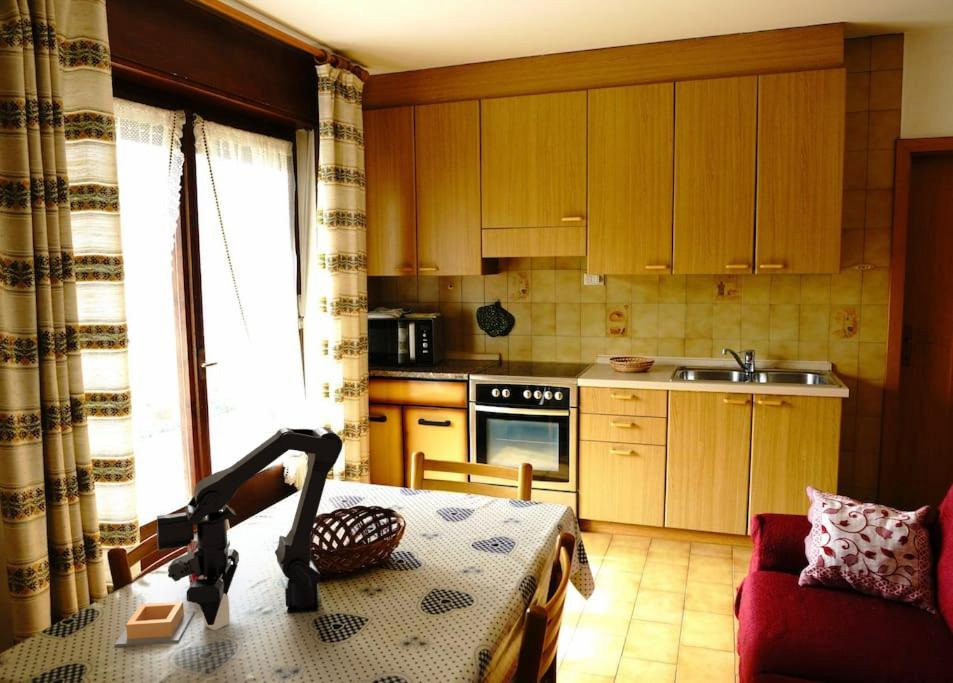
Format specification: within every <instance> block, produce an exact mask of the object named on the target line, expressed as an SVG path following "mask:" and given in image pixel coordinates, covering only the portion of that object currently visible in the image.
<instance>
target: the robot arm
mask: <svg viewBox="0 0 953 683" xmlns="http://www.w3.org/2000/svg"><path fill="white" fill-rule="evenodd" d="M343 444H344V443H343V440H342V438H341V437H340V436H339V435H338V434H337V433H335V432H334V431H333V430H332V429H331V428H329V427H326V426H319V427H317V428H315V429H311V428H289V427H282V428H279V429H278V430H277V431H276V433H274V434H273V435H272V436H271V437H269V438H268V439H267V440H265V441H264V442H262V443H261V444H260V445H258V446H257V447H256V448H253V450H251V451H250V452H249V453H247V454H246V455H244V457H242V458H241V459H239V460H238V461H236V462H235V463H234V464H232V465H231V466H230V467H228V468H225V469H222V470H220V471H216V472H214V473H212V474H210V475H208V476H206V477H204V478H202V479H201V480H199V481H198V482H197V483H196V485H194V491H193V497H192V498H191V499H190V500H189V502H188V503H187V505H186V506H185V507H184V512H179V513H178V512H177V513H173V514H160V515H157V516H156V517H157V518H156V524H157V526H156V539H157V540H156V541H157V550H158V552H162V551H166V550H167V551H168V550H172V549H179V548H184V547H187V546H189V544H191V540H194V534H195V530H194V529H195V528H194V526H196V533H197V542H198V548H197V549H196V550H195V552H191V553H189V554H186V553H185V554H184V555H181V556H179V557H176V558H174V559H173V560H172V561H171V563H170V564H169V565H168V567H167V572H168V574H167V577H168V578H169V579H171V580H173V581H174V582H179V581H180V580H181V579H184V578H185V577H189V575H191V574H193V573H194V577H198V576H201V575H203V577H207V578H206V579H196V580H195V581H194V582H193V583H192V584H191V585H190V584H189V587H188V589H187V590H186V601H187V602H188V603H191V604H192V603H193V604H197V605H199V607H200V610H201V612H202V614H204V616H203V618H204V617H205V619H206V622H207V624H208V625H213V624H214V622H215V619H216V616H217V613H218V610H219V607H220V604H221V601H222V597H223V594H224V593H225V594H226V595H228V593H229V591H230V588H231V585H232V582H233V579H234V576H235V573H236V571H237V568H238V564H239V562H240V556H239V554H240V553H239V552H238V550H236V549H234V548H233V549H232V548H231V549H229V548H230V546H231V541H230V540H229V539H228V527H227V520H233V519H236V518H237V514H236V513H235V510H234V509H232V508H231V507H229V506H228V502H230V501H231V500H232V499H233V497H235V495H236V494H237V493H238V491H239V490H240V489H241V487H242V486H243V485H244V484H245V483H246V482H248V481H250V480H251V479H252V478H253V477H255V476H256V475H257V474H259V473H260V472H262V471H263V470H264V469H265V468H267V467H268V466H269V465H271V464H273V463H274V462H275V461H277V459H279V458H280V457H281V456H283V455H284V454H286V453H287V452H288V451H297V452H302V453H306V454H307V471H306V475H305V477H304V481H303V485H302V489H301V492H300V496H299V499H298V504H297V507H296V511H295V514H294V518H293V521H292V526H291V529H290V531H289V532H288V534H287V535H286V536H283V535H279V536H278V538H279V539H278V544H277V548H276V549H275V550H274V555H275V556H276V561H277V564H278V565H279V567H280V569H281V571H282V572H281V573H283V575H284V576H285V578H287V579H288V580H287V584H286V586H285V589H284V590H285V592H284V593H285V607H286V608H287V609H286V613H287V614H292V613H296V614H297V613H311V612H318V611H319V607H320V603H321V602H320V601H321V595H320V585H319V584H320V580H321V577H322V575H321V573H320V572H319V570H318V568H317V566H316V565H315V563H314V562H313V560H312V559H311V558H312V557H311V556H312V546H311V544H312V542H311V539H312V538H311V536H312V534H313V530H314V525H315V521H316V518H317V514H318V511H319V507H320V504H321V500H322V496H323V493H324V489H325V485H326V481H327V479H328V478H327V477H328V475H329V473H330V471H331V470H332V469H333V468H334V466H335V465H336V463H337V461H338V459H339V457H340V455H341V453H342V450H343ZM220 579H222V580H223V581H221V580H220Z"/></svg>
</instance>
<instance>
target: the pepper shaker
mask: <svg viewBox="0 0 953 683" xmlns="http://www.w3.org/2000/svg"><path fill="white" fill-rule="evenodd" d="M220 580H221V581H223V580H222V579H220ZM229 600H230V598H229V595H228V594H227V595H226V594H225V593H224V594H223V597H222V601H221V604H220V607H219V610H218V613H217V616H216V619H215V622H214V624H213V625H208V624H207V622H206V619H205V617H204V614H203V613H202V614H203V624H204V626H205V627H206V628H208V629H211V630H212V631H217V630H219V629H221V628H223V627H225V626H227V625H229V624H230V623H231V618H230V604H229V602H230V601H229Z"/></svg>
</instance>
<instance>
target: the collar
mask: <svg viewBox="0 0 953 683" xmlns="http://www.w3.org/2000/svg"><path fill="white" fill-rule="evenodd" d="M184 609H185V608H184V601H171V602H157V603H156V602H155V603H140V605H139V606H138V607H137V609H136V611H135V612H134V613H133V614H132V616H131V617H130V619H129V620H128V621H127V623H126V624H125V625H126V626H125V629H124V630H123V632H122V633H121V634H120V636H119V637H118V638H117V640H116V641H115V643H114V648H116V647H132V646H143V645H146V646H147V645H160V644H175V643H179V642H180V641H181V638H182V637H183V635H184V633H185V631H186V629H187V628H188V626H189V624H190V622H191V620H192V619H193V617H194V615H195V614H196V611H195V610H184Z"/></svg>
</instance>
